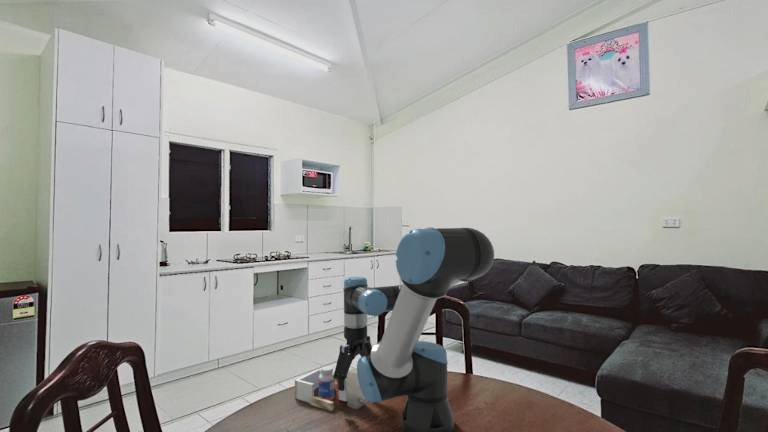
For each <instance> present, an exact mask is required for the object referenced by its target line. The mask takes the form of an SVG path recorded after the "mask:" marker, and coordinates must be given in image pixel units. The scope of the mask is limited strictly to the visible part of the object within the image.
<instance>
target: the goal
mask: <svg viewBox="0 0 768 432" xmlns="http://www.w3.org/2000/svg"><path fill="white" fill-rule="evenodd" d="M334 372H335V371H333V374H334ZM320 374H322V373H321V368H317V369H315V370H313V371H311V372H309V373H307V374H304V375H303V376H301V377H299V378H297V379H294V399H296V400H299V401H303V402H306V403H309V404H310V397H311V396H314V397H315V390H317V389H319V375H320Z"/></svg>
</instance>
